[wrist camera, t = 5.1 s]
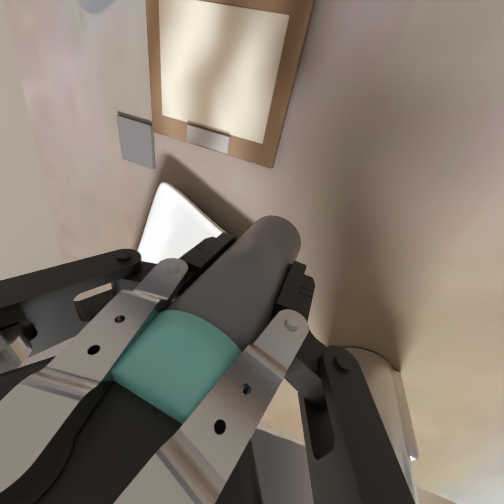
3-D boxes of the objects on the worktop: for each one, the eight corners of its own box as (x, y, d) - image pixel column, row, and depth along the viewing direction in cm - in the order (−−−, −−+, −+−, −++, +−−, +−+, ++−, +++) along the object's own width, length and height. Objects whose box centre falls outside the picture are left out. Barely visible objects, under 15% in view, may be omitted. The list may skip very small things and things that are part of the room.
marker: (311, 226, 13) (230, 438, 4) (291, 273, 15) (209, 480, 6) (254, 206, 14) (79, 345, 5) (243, 253, 16) (107, 411, 7)
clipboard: (319, -18, 15) (317, -26, 14) (272, 167, 23) (270, 169, 22) (148, -39, 18) (138, -48, 17) (156, 131, 25) (149, 131, 25)
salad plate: (141, 266, 40) (126, 276, 37) (176, 172, 28) (158, 178, 25) (228, 335, 41) (220, 350, 38) (301, 274, 28) (296, 290, 26)
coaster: (152, 125, 25) (150, 125, 25) (155, 168, 28) (152, 169, 28) (119, 115, 26) (116, 115, 26) (124, 158, 29) (122, 158, 29)
